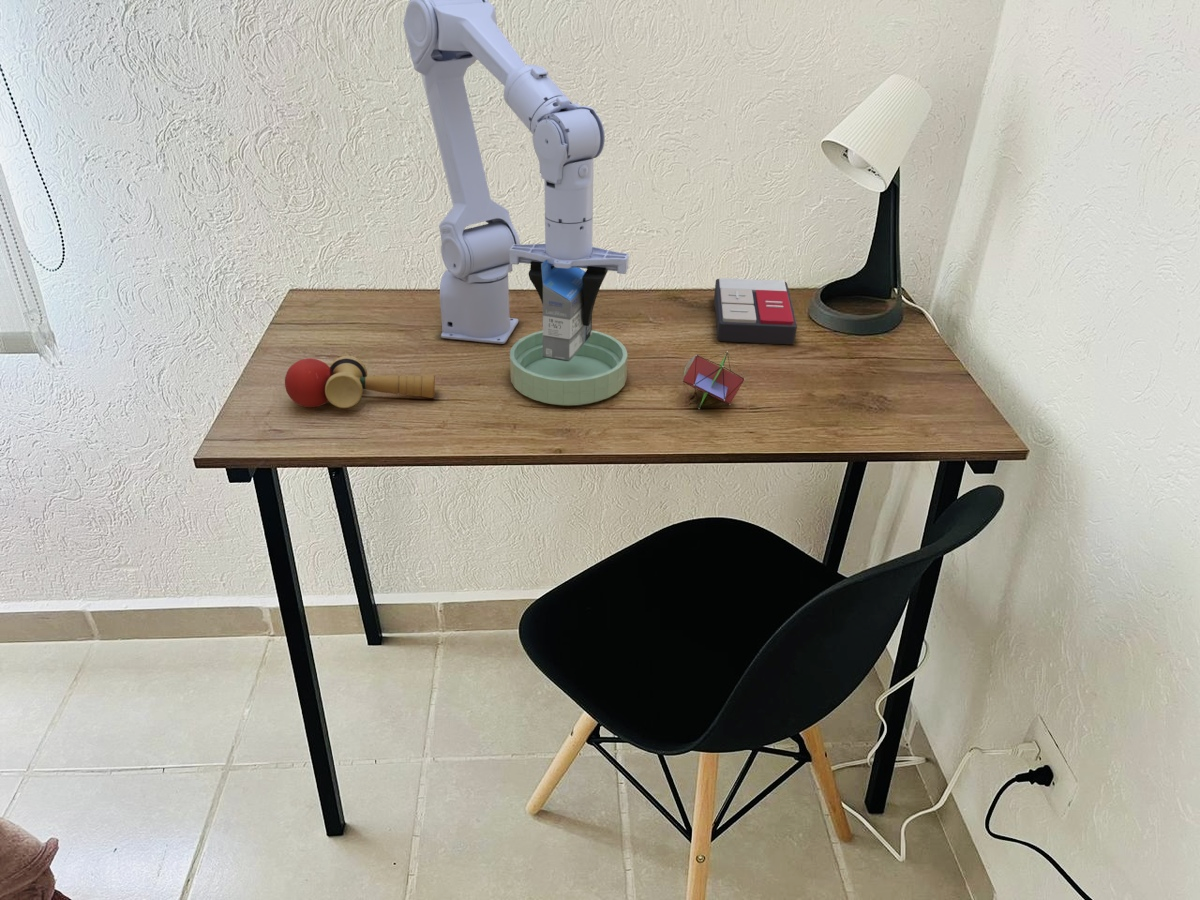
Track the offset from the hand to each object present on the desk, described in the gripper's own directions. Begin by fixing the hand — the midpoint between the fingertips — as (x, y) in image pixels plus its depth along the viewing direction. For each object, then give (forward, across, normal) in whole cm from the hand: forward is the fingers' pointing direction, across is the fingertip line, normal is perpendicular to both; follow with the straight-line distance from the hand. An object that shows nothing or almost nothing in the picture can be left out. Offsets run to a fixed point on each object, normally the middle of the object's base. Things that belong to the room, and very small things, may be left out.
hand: (568, 320), depth 116 cm
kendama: (+9, -24, -11) cm, 28 cm away
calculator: (+9, +23, +24) cm, 34 cm away
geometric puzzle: (+9, +19, -2) cm, 21 cm away
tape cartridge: (+4, 0, 0) cm, 4 cm away
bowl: (+8, 0, 0) cm, 8 cm away
